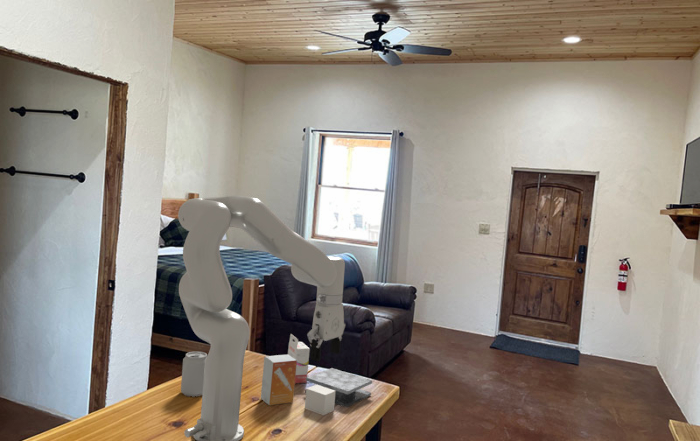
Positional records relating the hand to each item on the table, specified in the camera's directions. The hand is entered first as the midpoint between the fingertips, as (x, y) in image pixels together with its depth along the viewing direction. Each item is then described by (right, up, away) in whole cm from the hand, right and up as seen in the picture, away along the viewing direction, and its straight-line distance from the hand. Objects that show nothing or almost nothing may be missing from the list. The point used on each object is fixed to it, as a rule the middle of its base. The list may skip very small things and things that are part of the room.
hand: (325, 356), depth 161 cm
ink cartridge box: (-11, -14, +24) cm, 30 cm away
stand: (+3, -16, +14) cm, 21 cm away
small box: (-15, -15, +4) cm, 21 cm away
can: (-40, -12, +4) cm, 42 cm away
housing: (-2, -16, 0) cm, 16 cm away
